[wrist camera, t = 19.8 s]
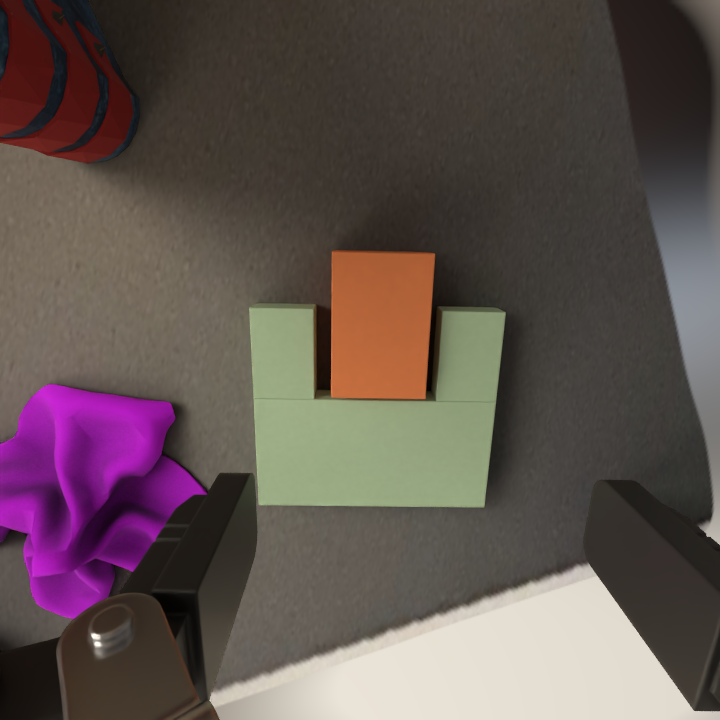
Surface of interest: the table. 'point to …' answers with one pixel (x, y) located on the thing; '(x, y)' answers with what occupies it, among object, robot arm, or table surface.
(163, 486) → the cloth
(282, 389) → the pale green notched block
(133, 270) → the table surface
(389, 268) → the orange rectangular block
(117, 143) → the book
